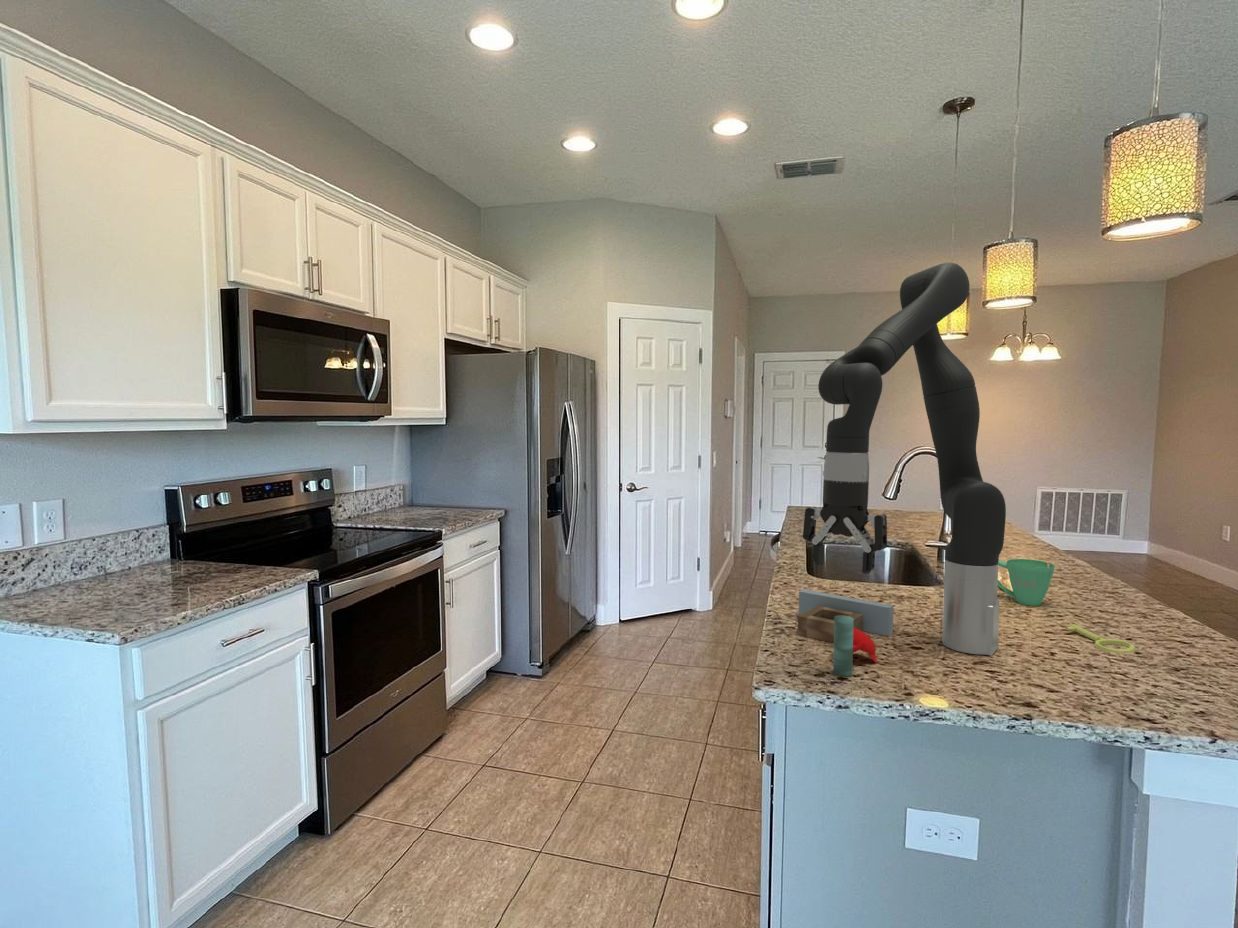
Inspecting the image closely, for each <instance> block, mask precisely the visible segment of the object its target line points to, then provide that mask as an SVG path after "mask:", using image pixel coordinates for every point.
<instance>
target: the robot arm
mask: <svg viewBox="0 0 1238 928" xmlns="http://www.w3.org/2000/svg"><path fill="white" fill-rule="evenodd" d="M969 293H970V280H969V277H968V275H967V272H966V270H965V269H964V268H963V267H962V266H961V265H959V264H958V263H955V262H944V263H939V264H937V265H934V266H930V267H929V268H926V269H923V270H921V271H919V272H916V273H913V274H911V275H909V276H907V277H905V278H904V279H903V281H902V283H901V284H900V288H899V299H900V300H899V301H900V307H901V310H898V312H896V313H895V314H893V315H891V316H890V317H888V318H887V319H885V320H884V321H883V322H882V323H879V325H878V326H877V327H875V328H874V329H873V330H872V331H871V332H870V333H869V334H868V335H867V336H866V337H865V338H864V340H862V341H861V342H860V344H858V346H856V347H855V348H853V349H852V350H849V351H848V352H846V353H844V354H843V355H841V356H840V357H839V358H836V359H835V360H834V361H832V362H831V363H830V364H829V365H828V366H826V367H825V368H824V370H823V371H822V373H821V375H820V377H819V380H818V388H817V389H818V393H819V395H820V397H821V398H822V400H823V401H824V402H827V404H830V405H835V406H836V405H848V408H847V410H846V413H845V414H844V415H843V416H842V417H841V416H840V417H838V418H837V417H836V418H834V419H831V420H830V421H829V422H828V424H827V426H826V427H827V428H826V442H825V443H826V444H825V451H826V452H825V458H824V462H823V471H822V476H823V482H822V508H817V507H816V506H809V507H806V508H805V510H804V519H803V529H802V530H803V532H802V538H803V540H805V541H809V542H811V544H812V561H813V562H815V563H814V564H815V566H819V567H820V566H823V565H824V563H825V546H826V545H825V544H824V542H825V541H826V540H827V538H828V537H829V536H831V534H832V535H835V536H839V535H842V536H844V537H854V539H855V540H856V541H857V543H858V544H860V546H861V548H862V549H863V550H864V551H863V552H862V566H861V567H862V569H861V570H862V571H861V572H862V574H865V575H867V574H870V573H871V572H872V571H873V570H875V565H876V564H875V563H876V562H875V561H876V552H878V551H881V550H884V549H887V547H888V524H887V523H888V520H887V519H888V517H887V515H886V514H885V513H881V514H869V510H868V506H869V505H868V504H869V488H870V487H869V484H870V482H869V481H870V460H869V451H870V450H869V446H870V430H871V426H872V423H873V420H874V417H875V414H876V411H877V407H878V405H879V401H880V398H881V395H882V392H883V379H882V378H883V377H882V376H884V375H885V374H887V373H888V372H889V371H890V370H892V368H893V367H894V366H895V365H896V364H897V363H898V361H900V359H901V358H902V357H903V356H904V355H905V353H907V352H908V351H909V349H911V347H913V351H914V354H915V359H916V364H917V368H918V373H919V377H920V383H921V391H922V396H923V402H924V407H925V412H926V416H927V420H928V423H929V429H930V433H931V434H930V435H931V439H932V442H933V446H934V450H935V455H936V460H937V467H938V478H939V493H940V502H941V507H942V509H943V511H944V513H945V514H946V516H947V517H948V518H950V520H952V530H951V539H950V541H949V543H947V544H946V546H945V547H944V571H943V572H944V574H943V575H944V577H943V604H942V605H943V606H942V607H943V608H942V609H943V610H942V632H941V634H942V641H941V642H942V645H943V646H945V647H946V648H948V649H950V650H953V651H957V652H960V653H964V654H970V655H986V656H993V655H994V654H995V652H996V651H997V649H998V647H999V628H1000V627H999V625H1000V600H998V589H999V588H998V580H999V565H998V562H999V560H1000V559H999V558H1000V554H1001V553H1002V551H1003V548H1004V543H1005V541H1004V540H1005V530H1006V520H1007V519H1006V517H1007V515H1006V514H1007V507H1006V501H1005V496H1004V494H1003V493H1002V491H1001V490H1000V489H999V488H998V487H997V486H995V485H993V484H991V483H989V482H986V481H984V480H983V477H982V474H981V470H980V469H981V468H980V466H979V461H978V455H977V440H978V432H979V426H980V415H981V413H980V412H981V411H980V401H979V398H978V391H977V387H976V382H975V379H974V376H973V374H972V372H971V371H970V370H969V369H968V367H967V366H966V365H965V364H964V362H962V361H961V360H960V359H959V358H958V357H957V356H956V355H955V354H954V353H953V352H952V351H951V349H950V348H948V346H947V345H946V343H945V341H944V340H943V338H942V336H941V333H940V330H939V328H938V323H940V322H941V321H942V320H943V319H945V318H946V317H947V316H949V315H951V313H953V312H954V311H956V310H957V309H959V308H960V307H961V306H962V305H964V303H965V302H966V300H967V298H968V296H969ZM820 517H821V519H822V521H823V523H824V524H823V525H822V526H821V528H820V529H819V530H818V531H817V533H816V527H817V520H819V518H820ZM869 522H870V523H871V524H870V525H871V526H872V527H873V529H874V541H873V540H872V538H871V534H870V533H869V531H868V530H867V528H866V525H867V524H868V523H869Z"/></svg>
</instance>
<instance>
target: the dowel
mask: <svg viewBox="0 0 1238 928" xmlns="http://www.w3.org/2000/svg"><path fill="white" fill-rule="evenodd" d="M853 655H854V653H853V618H852V617H849V616H844V615H838V616H835V617H834V643H833V668H832V669H833V670H832V672H833V674H834V675H835V676H839V677H844V678H845V677H846V678H848V677H852V676H853V662H854V661H853V658H854V657H853Z"/></svg>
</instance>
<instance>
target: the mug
mask: <svg viewBox="0 0 1238 928" xmlns="http://www.w3.org/2000/svg"><path fill="white" fill-rule="evenodd" d="M999 566H1000V567H1002V568H1004V569H1006V570H1007V571H1008V575H1009V576H1008V577H1009V583H1010V586H1011V589H1012V590H1011V589H1010V588H1008V587H1006V586H1004V585H1003V584H1002V583H1001V582H1000V580H999V579H998V588H997V589H998V590H999V591H1001V592H1002V593H1004V594H1006V595H1008V596H1010V597H1012V598H1013V599H1014V600H1016V602H1017V603H1018V604H1020V605H1024V606H1028V607H1029V606H1031V607H1038V606H1041V604H1042V602H1043V601H1044V600H1045V597H1046V595H1047V592H1048V590H1049V588H1050V586H1051V580H1052V578H1053V575H1054V571H1055V568H1056V567H1055V565H1054V564H1053V563H1049V565H1048V563H1047V561H1044V560H1043V561H1042V560H1037V559H1031V558H1030V559H1028V558H1026V559H1025V558H1012V559H1011V558H1010V559H1008V560H1006V561H1004V560H1001V559H999V562H998V567H999Z"/></svg>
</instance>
